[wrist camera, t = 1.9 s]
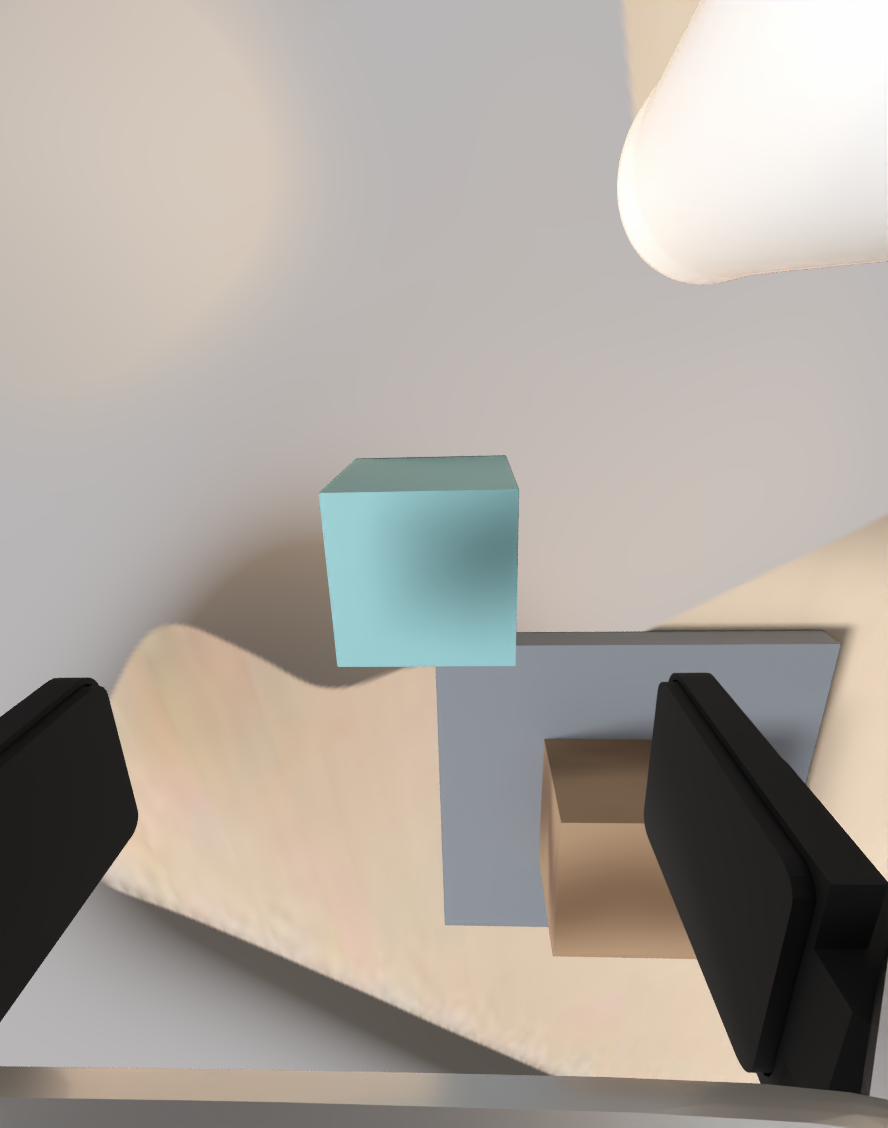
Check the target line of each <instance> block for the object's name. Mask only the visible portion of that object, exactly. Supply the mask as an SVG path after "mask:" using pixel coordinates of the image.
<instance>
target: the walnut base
mask: <svg viewBox="0 0 888 1128" xmlns="http://www.w3.org/2000/svg"><path fill="white" fill-rule="evenodd" d="M651 743H652V740H638V739H544V753H543V775H542V797H541V819H540V841H539V864H540V871H541V878H542V885H543V891H544V898H545V905H546V912H547V919H548V926H549V933H550V940H551V947H552V953H553V956H571V957H622V958H673V959H697V958H696V955H695V953H694V950H693V948H692V945H691V943H690V940H689V938H688V935H687V933H686V930H685V928H684V926H683V923H682V921H681V918H680V916H679V913H678V911H677V908H676V906H675V903H674V901H673V898H672V896H671V893H670V891H669V888H668V886H667V884H666V881H665V879H664V876H663V874H662V871H661V869H660V866H659V864H658V861H657V859H656V856H655V854H654V851H653V849H652V846H651V844H650V842H649V839H648V836H647V833H646V830H645V825H644V804H645V795H646V787H647V778H648V769H649V761H650V752H651Z"/></svg>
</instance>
